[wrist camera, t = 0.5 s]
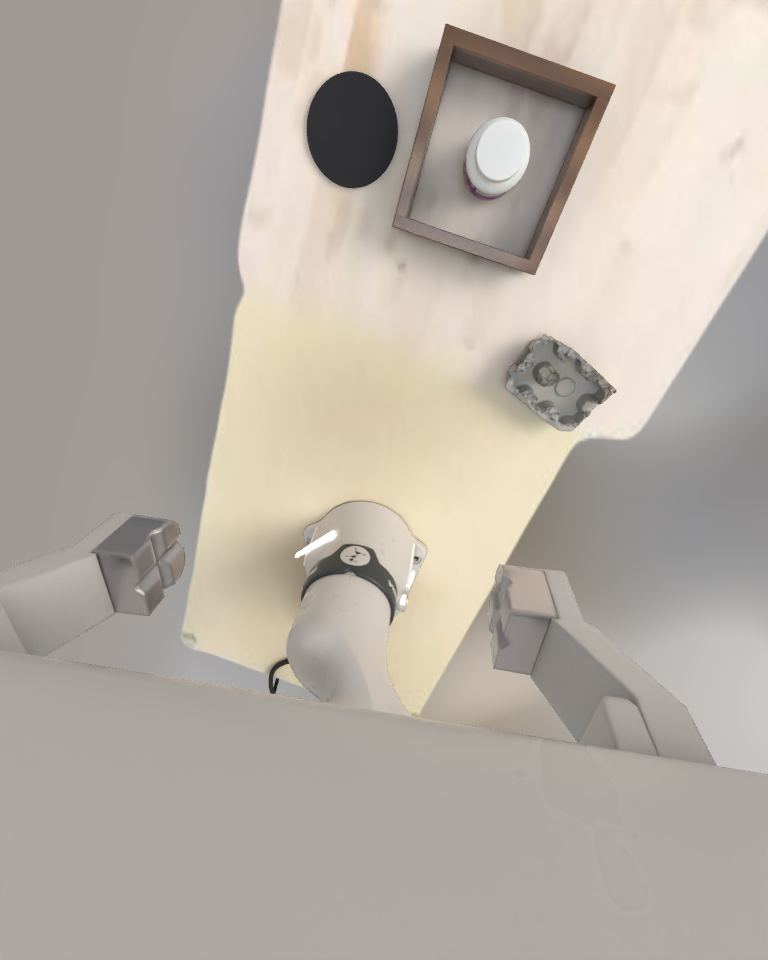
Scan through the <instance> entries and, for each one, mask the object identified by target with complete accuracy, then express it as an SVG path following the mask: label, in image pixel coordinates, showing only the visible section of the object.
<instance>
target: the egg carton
mask: <svg viewBox="0 0 768 960" xmlns="http://www.w3.org/2000/svg"><path fill="white" fill-rule="evenodd" d="M528 348H529V349H530V351H531V352H530V353H528V354H527V356H526V357H525V359H524V361H523V362H522V363H521V364H520V365H517V364H513V365H512V366H511V368H510V369H509V373H510V375H511V376H510V378H509V380H508V382H507V384H506V387H507V388H508V389H509V391H511V392H512V393H513V394H514V395H515V396H516V397H518V398H519V399H520V400H521V401H522V402H524V403H525V404H526V405H527V406H528V407H529V408H530V409H532V410H533V411H534V412H536V413H537V414H538V415H539V416H540V417H542V418H543V419H544V420H545V421H546V422H548V423H549V424H550V425H552V426H553V427H554V428H556V429H557V430H559V431H572V430H574V429H575V428H576V427H577V426H578V425H579V424H580V423H581V422H582V421H583V420H584V419H585V418H586V417H588V416H589V415H590V413H591V411H592V410H593V409H594V408H595V407H596V406H597V405H598V404H602V403H603V402H604V401H606V400H607V399H608V398H609V397H610V396H611V395H612V394H613V393H616V389H615V388H614V387H613V386H612V385H610V384H609V383H608V382H607V381H606V380H605V379H604V377H603V376H602V375H600V374H599V373H598V372H597V371H596V370H595V369H594V368H593V367H592V366H591V365H589V364H588V363H587V362H586V361H585V360H584V359H583V358H582V357H581V356H580V355H579V354H578V353H577V352H575V351H574V350H573V349H571V348H569V347H568V346H566V345H564V344H563V343H561V342H559V341H557V340H555V339H554V338H552V337H551V336H550V337H548V336H546V335H543V337H542V338H541V339H539V340H533V341H532V342H531V343H530V344H529V345H528Z"/></svg>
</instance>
